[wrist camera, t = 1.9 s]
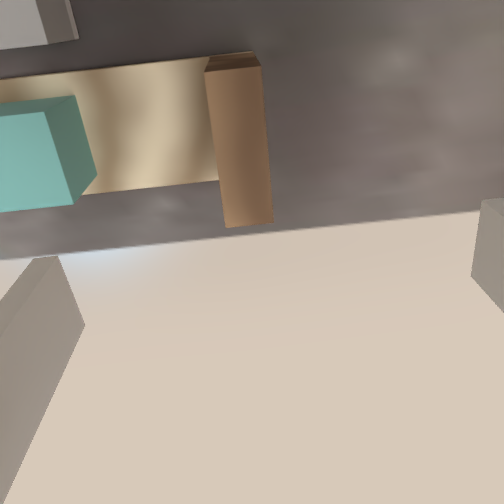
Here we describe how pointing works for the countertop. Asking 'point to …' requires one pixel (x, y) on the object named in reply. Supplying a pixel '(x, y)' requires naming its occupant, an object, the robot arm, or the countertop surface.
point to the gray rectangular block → (35, 23)
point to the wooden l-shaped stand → (171, 126)
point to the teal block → (43, 154)
